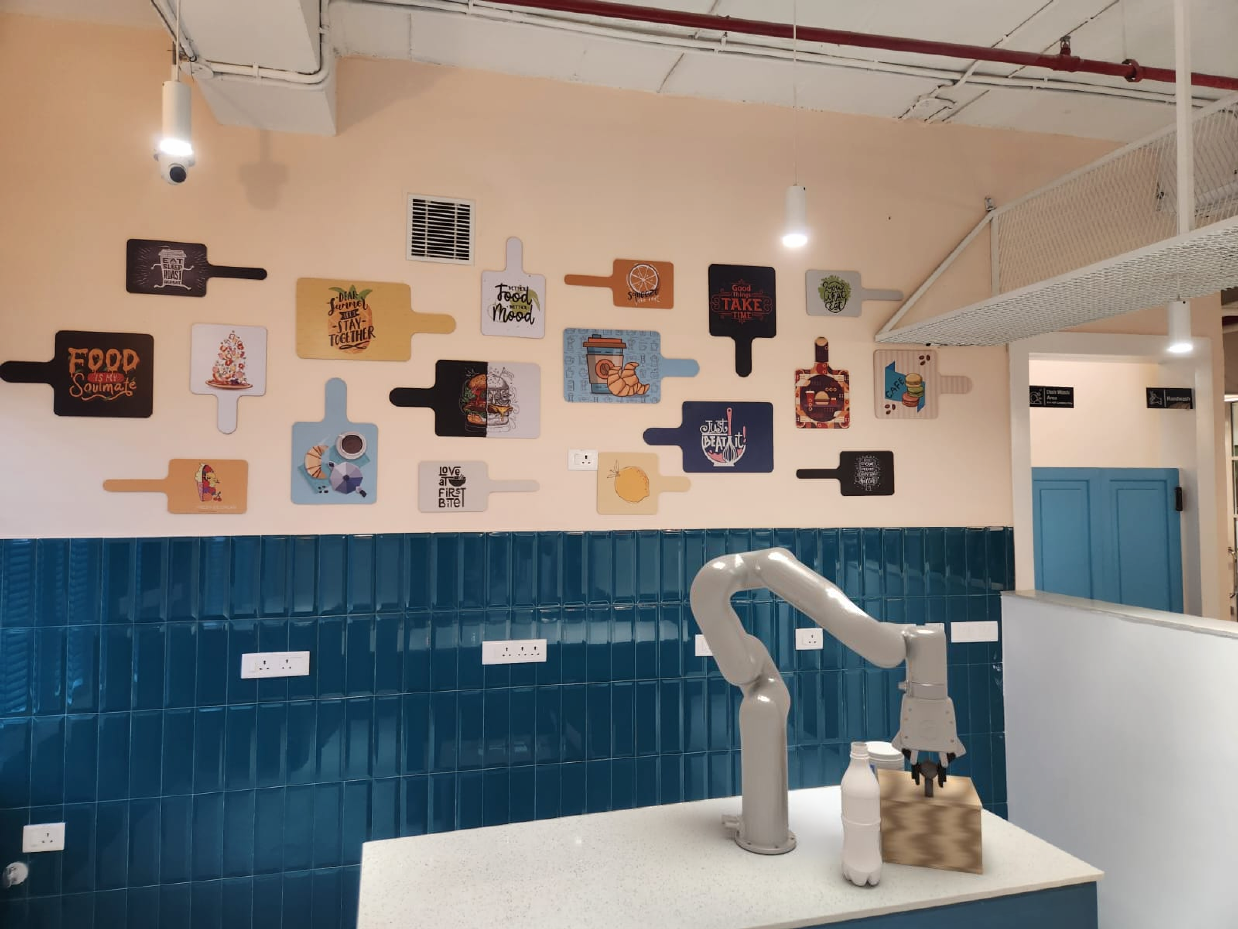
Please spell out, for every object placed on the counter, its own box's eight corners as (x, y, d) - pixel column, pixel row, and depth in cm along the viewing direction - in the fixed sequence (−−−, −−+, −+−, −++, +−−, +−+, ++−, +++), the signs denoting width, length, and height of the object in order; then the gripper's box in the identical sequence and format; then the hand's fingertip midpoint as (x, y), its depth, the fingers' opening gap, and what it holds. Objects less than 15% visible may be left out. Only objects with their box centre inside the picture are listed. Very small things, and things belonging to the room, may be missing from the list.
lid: (880, 799, 149) (879, 759, 150) (877, 772, 164) (876, 736, 164) (982, 810, 144) (981, 768, 144) (970, 781, 159) (969, 743, 159)
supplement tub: (856, 816, 170) (855, 750, 171) (864, 801, 179) (863, 738, 179) (902, 825, 166) (901, 756, 166) (907, 809, 174) (906, 744, 175)
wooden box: (882, 861, 149) (881, 799, 149) (879, 829, 163) (878, 773, 164) (982, 874, 144) (981, 810, 144) (970, 840, 158) (969, 781, 159)
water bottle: (884, 891, 138) (881, 751, 139) (843, 887, 139) (841, 749, 140) (879, 872, 145) (876, 739, 146) (840, 868, 146) (838, 737, 147)
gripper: (883, 691, 149) (885, 786, 148) (975, 697, 144) (978, 796, 143) (881, 682, 156) (883, 773, 155) (969, 688, 151) (972, 782, 150)
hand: (928, 783), depth 149 cm, fingers closed on lid, 3 cm apart
